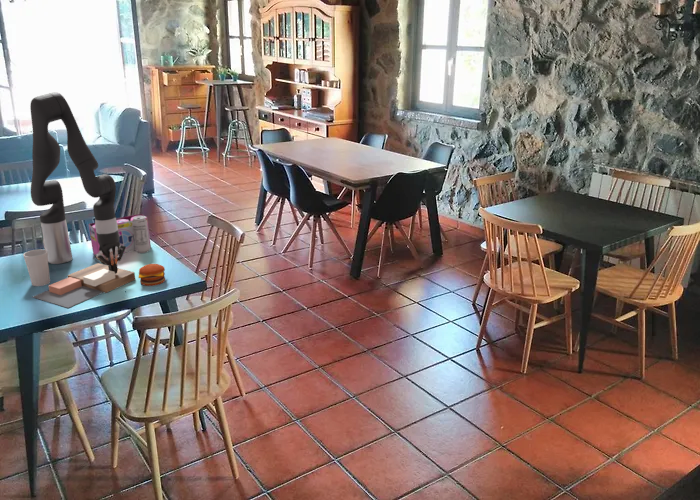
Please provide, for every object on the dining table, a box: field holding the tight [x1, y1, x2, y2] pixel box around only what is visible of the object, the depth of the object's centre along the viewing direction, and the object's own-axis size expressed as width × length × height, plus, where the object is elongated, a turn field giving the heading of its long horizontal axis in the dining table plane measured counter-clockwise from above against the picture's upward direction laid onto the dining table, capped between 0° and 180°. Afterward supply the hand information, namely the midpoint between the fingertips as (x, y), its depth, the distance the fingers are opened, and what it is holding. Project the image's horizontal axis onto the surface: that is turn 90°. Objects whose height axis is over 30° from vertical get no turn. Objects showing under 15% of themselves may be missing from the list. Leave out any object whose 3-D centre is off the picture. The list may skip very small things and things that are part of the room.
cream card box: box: [83, 269, 115, 286], centre depth 220 cm, size 6×9×2 cm, turn 150°
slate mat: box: [32, 286, 105, 309], centre depth 216 cm, size 19×15×1 cm
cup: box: [22, 248, 51, 287], centre depth 224 cm, size 8×8×12 cm
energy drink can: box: [132, 215, 151, 254], centre depth 255 cm, size 6×6×15 cm
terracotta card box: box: [47, 277, 82, 295], centre depth 220 cm, size 6×9×2 cm, turn 151°
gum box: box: [88, 213, 152, 256], centre depth 257 cm, size 24×8×14 cm, turn 130°
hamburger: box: [138, 263, 166, 287], centre depth 226 cm, size 9×10×7 cm
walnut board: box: [67, 262, 136, 294], centre depth 227 cm, size 20×14×3 cm
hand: (113, 273), depth 225 cm, fingers closed
